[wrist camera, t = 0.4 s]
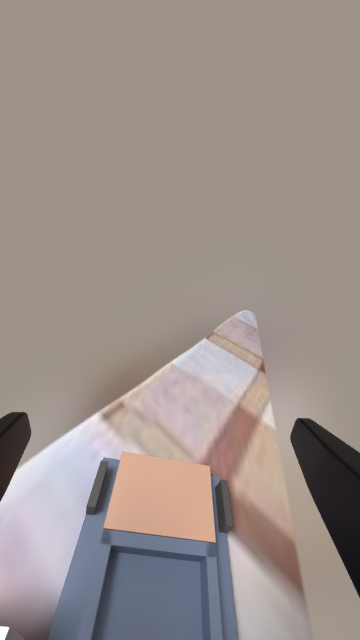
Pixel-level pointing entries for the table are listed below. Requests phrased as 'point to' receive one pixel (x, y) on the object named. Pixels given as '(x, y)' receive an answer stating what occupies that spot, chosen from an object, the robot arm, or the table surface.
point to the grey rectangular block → (9, 634)
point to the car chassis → (150, 556)
